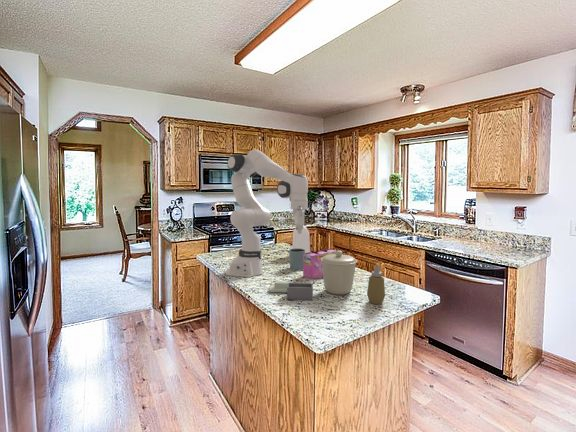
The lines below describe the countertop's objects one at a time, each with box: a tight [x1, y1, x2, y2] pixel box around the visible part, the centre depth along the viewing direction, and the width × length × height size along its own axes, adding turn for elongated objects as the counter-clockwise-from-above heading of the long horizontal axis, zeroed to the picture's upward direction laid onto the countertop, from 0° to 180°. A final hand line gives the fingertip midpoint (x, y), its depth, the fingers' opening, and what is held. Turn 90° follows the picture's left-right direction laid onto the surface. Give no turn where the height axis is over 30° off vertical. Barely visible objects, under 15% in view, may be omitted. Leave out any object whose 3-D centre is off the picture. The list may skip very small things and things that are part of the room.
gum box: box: [302, 248, 337, 280], centre depth 200 cm, size 24×8×14 cm, turn 128°
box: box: [286, 282, 314, 301], centre depth 160 cm, size 12×7×6 cm, turn 87°
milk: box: [291, 225, 311, 253], centre depth 240 cm, size 12×12×26 cm
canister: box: [321, 249, 358, 296], centre depth 168 cm, size 18×18×21 cm
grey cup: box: [288, 248, 305, 271], centre depth 212 cm, size 10×10×12 cm
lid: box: [268, 280, 292, 294], centre depth 170 cm, size 13×8×5 cm, turn 85°
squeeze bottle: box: [366, 263, 386, 305], centre depth 154 cm, size 8×8×18 cm
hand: (298, 231), depth 175 cm, fingers open, 8 cm apart
